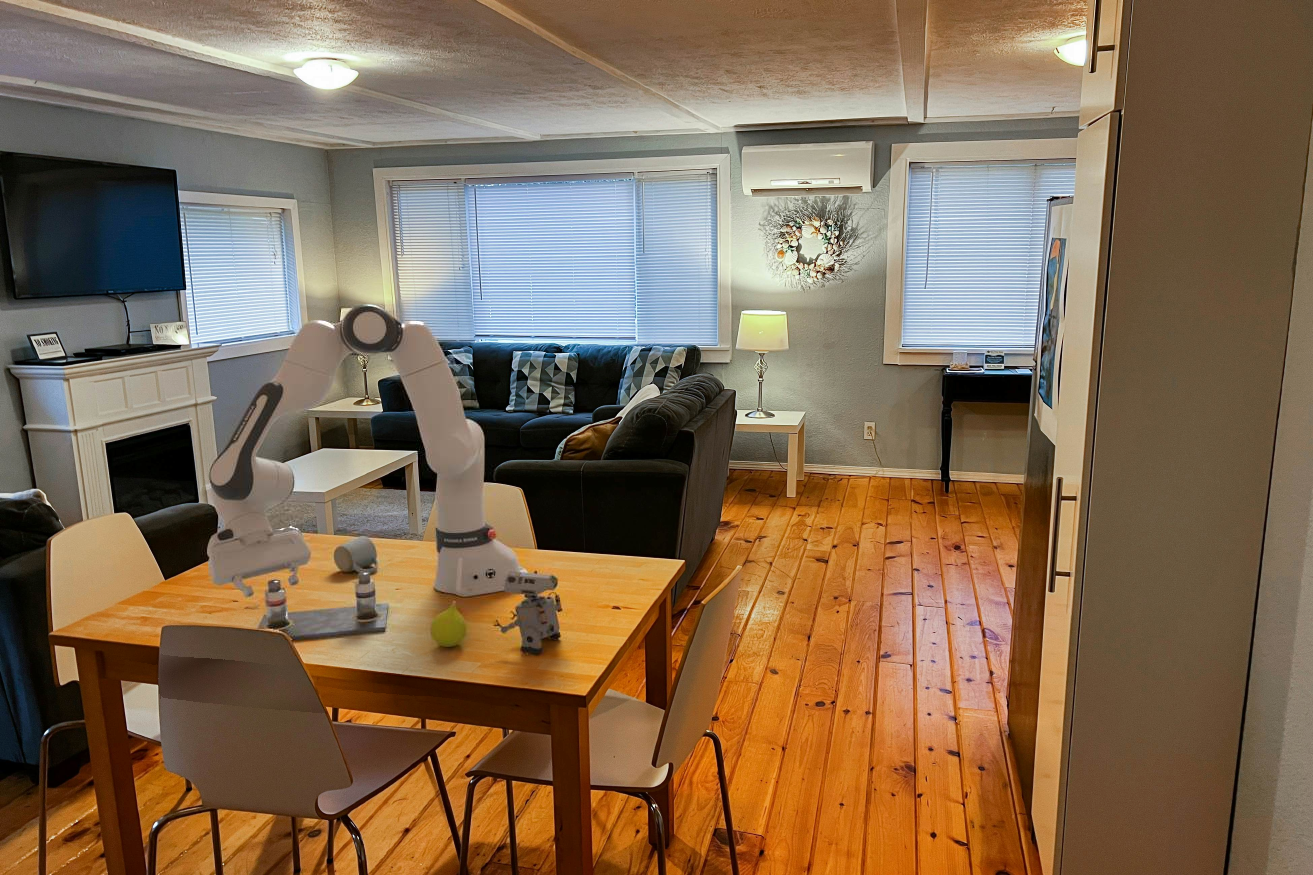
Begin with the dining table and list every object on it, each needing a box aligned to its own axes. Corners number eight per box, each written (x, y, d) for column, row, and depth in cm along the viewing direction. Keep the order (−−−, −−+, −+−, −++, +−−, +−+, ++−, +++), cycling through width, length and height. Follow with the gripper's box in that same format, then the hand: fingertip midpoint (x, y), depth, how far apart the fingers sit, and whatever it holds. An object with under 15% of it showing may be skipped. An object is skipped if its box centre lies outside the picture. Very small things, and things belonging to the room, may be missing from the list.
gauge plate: (388, 607, 207) (388, 602, 207) (385, 631, 194) (384, 625, 194) (264, 619, 202) (263, 614, 201) (252, 644, 188) (251, 639, 188)
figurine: (517, 632, 192) (514, 563, 189) (567, 639, 188) (564, 569, 185) (494, 649, 184) (491, 577, 181) (546, 657, 180) (543, 584, 177)
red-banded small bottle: (290, 619, 198) (285, 577, 196) (287, 626, 194) (282, 583, 192) (269, 621, 197) (265, 579, 195) (266, 628, 193) (261, 585, 191)
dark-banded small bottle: (377, 611, 202) (374, 569, 200) (376, 618, 198) (373, 575, 196) (358, 613, 201) (354, 571, 199) (356, 620, 197) (353, 577, 195)
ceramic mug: (332, 570, 232) (330, 541, 231) (358, 561, 239) (356, 533, 238) (360, 579, 227) (358, 549, 225) (386, 569, 233) (385, 540, 232)
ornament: (471, 638, 190) (468, 591, 188) (463, 652, 183) (460, 604, 181) (436, 638, 190) (433, 592, 188) (427, 652, 183) (424, 604, 181)
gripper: (295, 532, 209) (317, 584, 204) (198, 553, 195) (220, 609, 190) (301, 517, 205) (324, 569, 199) (203, 537, 191) (225, 594, 186)
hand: (272, 589), depth 195 cm, fingers open, 8 cm apart
